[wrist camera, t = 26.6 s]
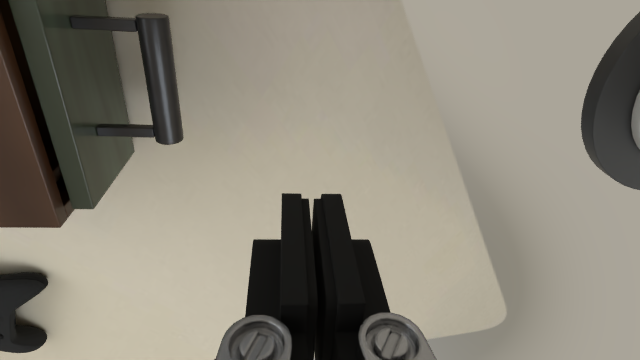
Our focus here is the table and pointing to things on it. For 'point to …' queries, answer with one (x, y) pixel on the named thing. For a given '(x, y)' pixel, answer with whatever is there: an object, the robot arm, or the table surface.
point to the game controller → (6, 297)
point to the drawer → (90, 87)
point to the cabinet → (24, 155)
